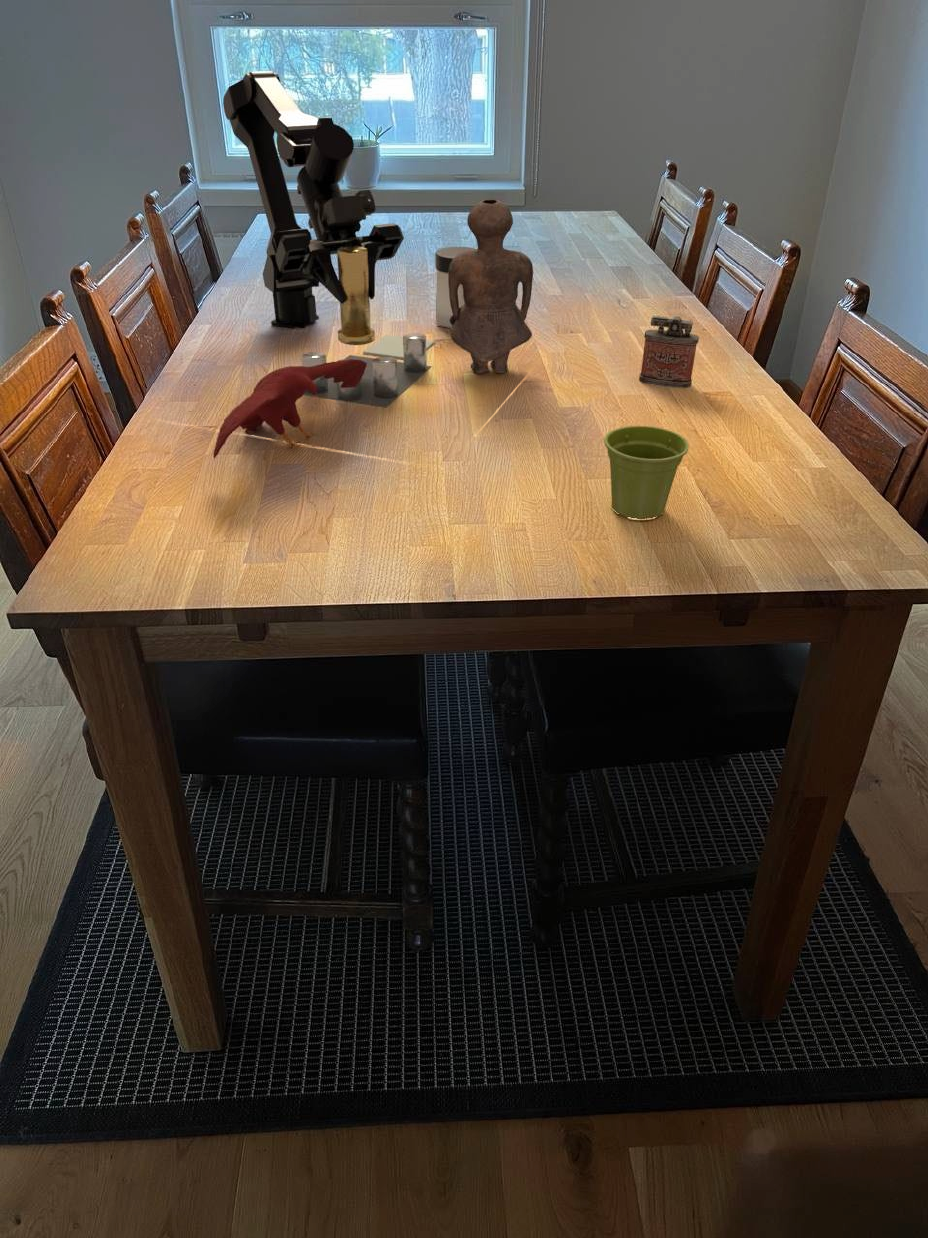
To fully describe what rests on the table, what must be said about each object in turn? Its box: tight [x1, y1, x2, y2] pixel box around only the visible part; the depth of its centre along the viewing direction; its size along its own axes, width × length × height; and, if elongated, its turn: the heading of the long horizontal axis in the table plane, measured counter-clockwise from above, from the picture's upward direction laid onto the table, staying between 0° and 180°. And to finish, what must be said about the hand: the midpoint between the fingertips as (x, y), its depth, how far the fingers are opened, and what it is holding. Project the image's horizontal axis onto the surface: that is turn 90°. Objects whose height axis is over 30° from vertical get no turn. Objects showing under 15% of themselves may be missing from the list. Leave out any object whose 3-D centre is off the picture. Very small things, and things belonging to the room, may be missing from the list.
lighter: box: [638, 315, 700, 389], centre depth 138 cm, size 8×3×10 cm, turn 71°
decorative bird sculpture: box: [213, 359, 367, 460], centre depth 120 cm, size 28×9×15 cm
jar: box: [434, 246, 478, 329], centre depth 161 cm, size 9×8×12 cm
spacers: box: [300, 332, 428, 402], centre depth 139 cm, size 14×18×5 cm
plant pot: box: [603, 425, 690, 519], centre depth 105 cm, size 9×9×9 cm
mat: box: [303, 354, 433, 408], centre depth 140 cm, size 14×18×1 cm
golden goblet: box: [336, 246, 376, 346], centre depth 136 cm, size 6×6×13 cm
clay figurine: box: [448, 198, 534, 374], centre depth 138 cm, size 13×10×25 cm
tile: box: [362, 334, 435, 360], centre depth 152 cm, size 9×9×1 cm
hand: (358, 299), depth 135 cm, fingers closed on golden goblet, 4 cm apart
